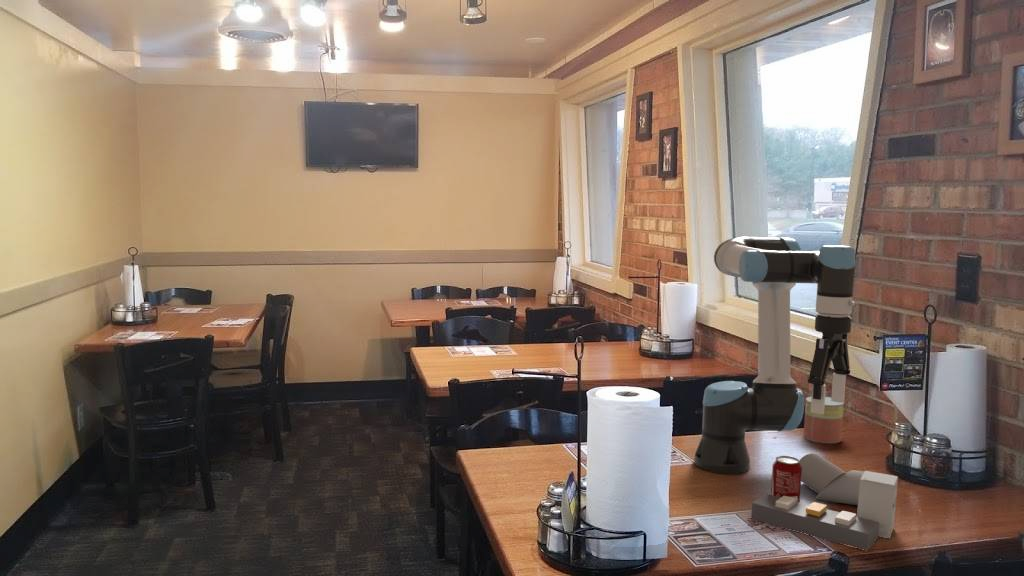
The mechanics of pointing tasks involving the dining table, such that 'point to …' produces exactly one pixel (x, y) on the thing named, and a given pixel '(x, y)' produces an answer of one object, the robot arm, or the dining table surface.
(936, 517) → the dining table surface
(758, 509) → the button panel
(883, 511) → the supplement box
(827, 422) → the canned food
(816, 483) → the l-shaped cylinder
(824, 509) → the paddle mid
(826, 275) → the robot arm
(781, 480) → the soda can
